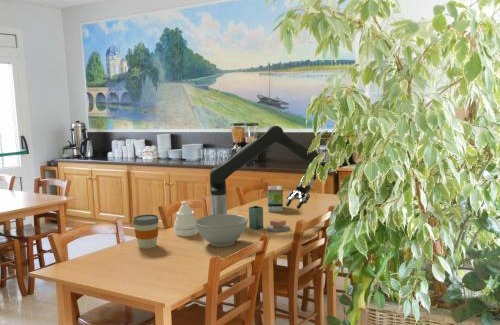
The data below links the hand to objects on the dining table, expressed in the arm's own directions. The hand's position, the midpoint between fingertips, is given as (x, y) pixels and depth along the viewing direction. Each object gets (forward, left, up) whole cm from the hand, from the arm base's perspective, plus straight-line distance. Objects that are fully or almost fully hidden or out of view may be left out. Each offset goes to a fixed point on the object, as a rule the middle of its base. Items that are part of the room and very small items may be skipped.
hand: (292, 207), depth 284 cm
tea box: (+8, +42, -11) cm, 44 cm away
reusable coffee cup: (-84, -3, -11) cm, 85 cm away
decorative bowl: (-48, -16, -11) cm, 52 cm away
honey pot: (-60, +12, -11) cm, 62 cm away
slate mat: (-11, -4, -11) cm, 16 cm away
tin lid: (-11, -4, -10) cm, 15 cm away
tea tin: (-21, +4, -11) cm, 24 cm away
